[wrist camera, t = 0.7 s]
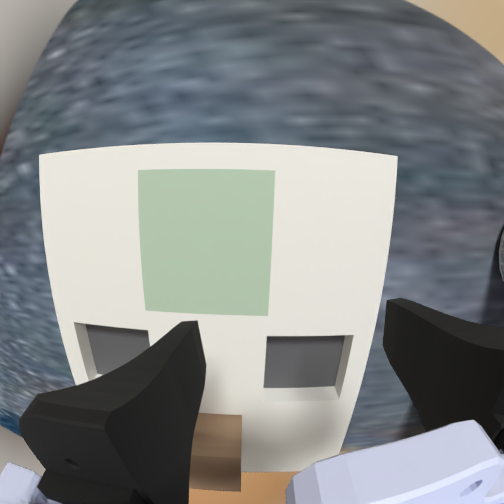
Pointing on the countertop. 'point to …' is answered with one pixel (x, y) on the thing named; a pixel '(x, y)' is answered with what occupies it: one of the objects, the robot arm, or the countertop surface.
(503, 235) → the supplement can
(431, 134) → the countertop surface
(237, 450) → the walnut block
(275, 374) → the board
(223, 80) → the countertop surface
